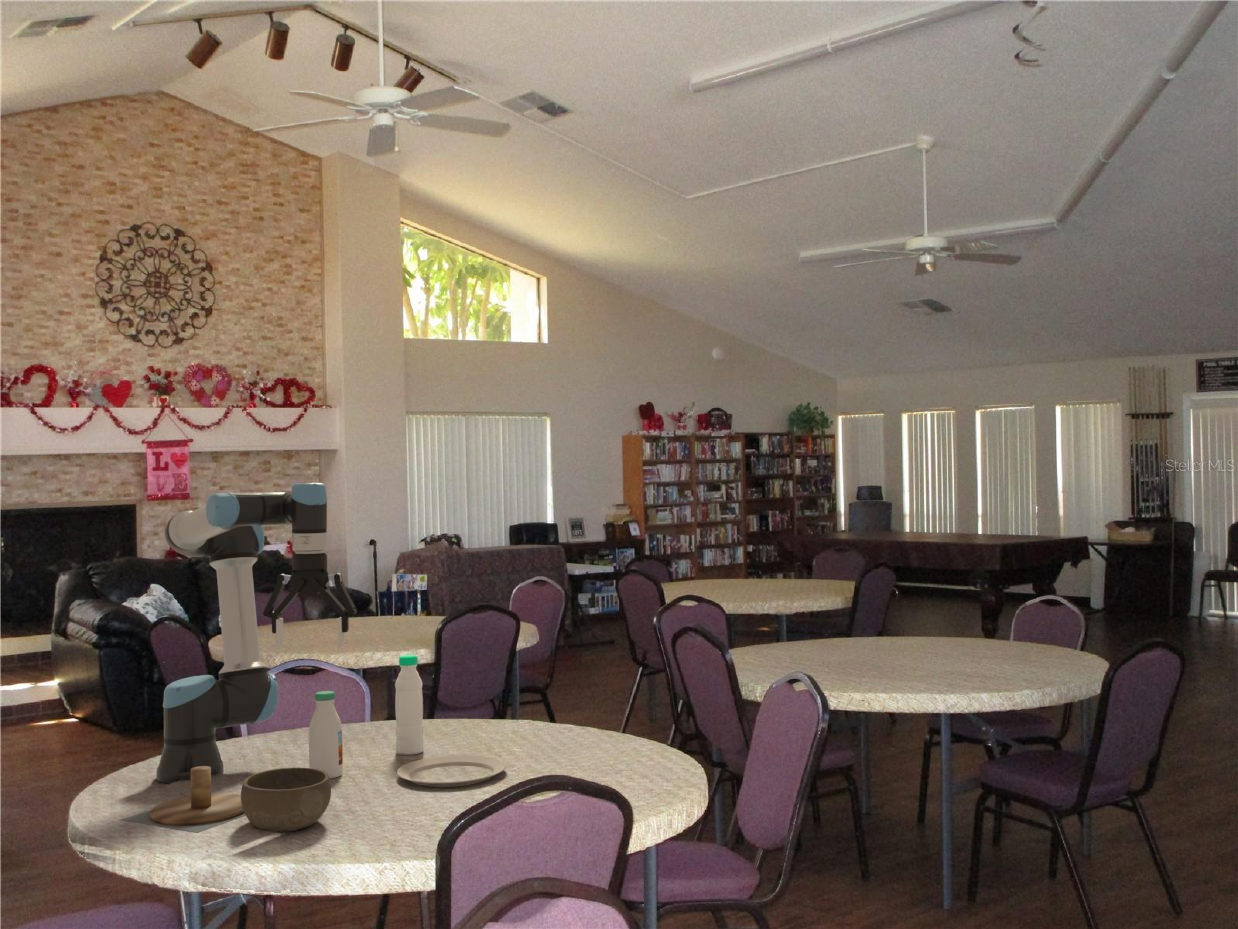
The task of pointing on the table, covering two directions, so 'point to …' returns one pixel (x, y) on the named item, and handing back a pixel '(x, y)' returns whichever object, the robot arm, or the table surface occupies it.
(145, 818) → the mat
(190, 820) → the lid
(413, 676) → the white plastic bottle
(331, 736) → the milk bottle
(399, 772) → the plate
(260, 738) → the table surface
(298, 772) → the bowl
